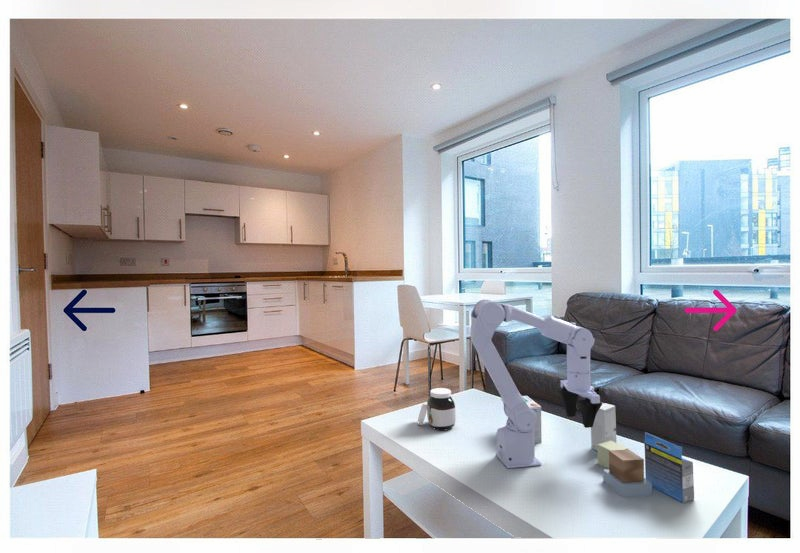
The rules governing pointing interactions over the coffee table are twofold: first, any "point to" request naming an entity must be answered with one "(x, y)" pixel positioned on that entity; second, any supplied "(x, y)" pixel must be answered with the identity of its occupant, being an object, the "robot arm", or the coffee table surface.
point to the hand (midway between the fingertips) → (579, 421)
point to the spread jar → (439, 409)
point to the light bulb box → (537, 410)
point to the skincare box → (604, 426)
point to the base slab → (627, 486)
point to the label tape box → (668, 469)
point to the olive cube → (607, 451)
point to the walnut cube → (626, 466)
